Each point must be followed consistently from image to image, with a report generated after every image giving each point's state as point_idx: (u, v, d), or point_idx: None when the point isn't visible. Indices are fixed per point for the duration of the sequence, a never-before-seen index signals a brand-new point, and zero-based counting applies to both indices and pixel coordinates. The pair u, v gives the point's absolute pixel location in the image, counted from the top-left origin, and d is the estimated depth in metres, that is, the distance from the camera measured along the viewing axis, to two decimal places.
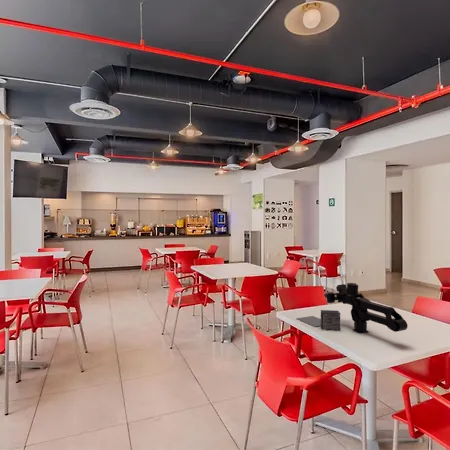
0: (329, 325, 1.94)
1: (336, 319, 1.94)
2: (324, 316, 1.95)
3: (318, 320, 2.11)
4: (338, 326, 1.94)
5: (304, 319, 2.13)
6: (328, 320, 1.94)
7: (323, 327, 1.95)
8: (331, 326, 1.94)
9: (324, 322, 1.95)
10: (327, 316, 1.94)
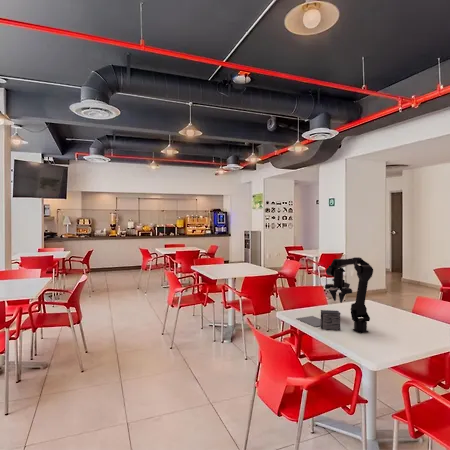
0: (329, 325, 1.94)
1: (336, 319, 1.94)
2: (324, 316, 1.95)
3: (318, 320, 2.11)
4: (338, 326, 1.94)
5: (304, 319, 2.13)
6: (328, 320, 1.94)
7: (323, 327, 1.95)
8: (331, 326, 1.94)
9: (324, 322, 1.95)
10: (327, 316, 1.94)
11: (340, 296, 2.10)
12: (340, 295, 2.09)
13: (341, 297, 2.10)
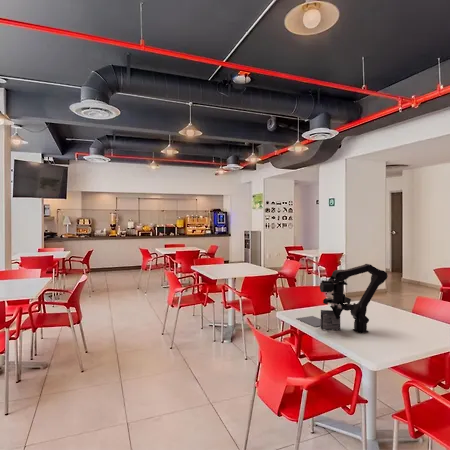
0: (329, 325, 1.94)
1: (336, 319, 1.94)
2: (324, 316, 1.95)
3: (318, 320, 2.11)
4: (338, 326, 1.94)
5: (304, 319, 2.13)
6: (328, 320, 1.94)
7: (323, 327, 1.95)
8: (331, 326, 1.94)
9: (324, 322, 1.95)
10: (327, 316, 1.95)
11: (337, 312, 1.89)
12: (337, 311, 1.89)
13: (338, 313, 1.90)
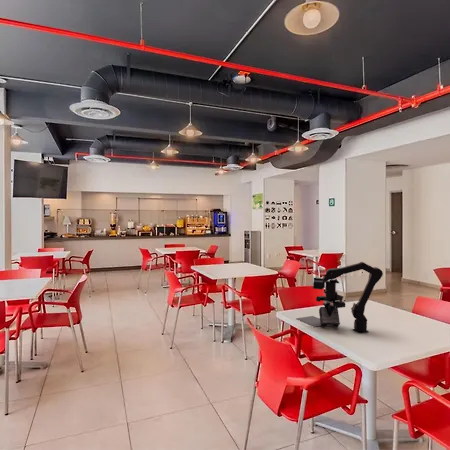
0: (328, 319, 1.97)
1: (335, 313, 1.98)
2: (322, 310, 2.00)
3: (318, 320, 2.11)
4: (337, 319, 1.96)
5: (304, 319, 2.13)
6: (327, 314, 1.98)
7: (323, 321, 1.96)
8: (330, 320, 1.96)
9: (323, 316, 1.98)
10: (325, 310, 2.00)
11: (329, 309, 1.95)
12: (329, 308, 1.95)
13: (330, 310, 1.96)
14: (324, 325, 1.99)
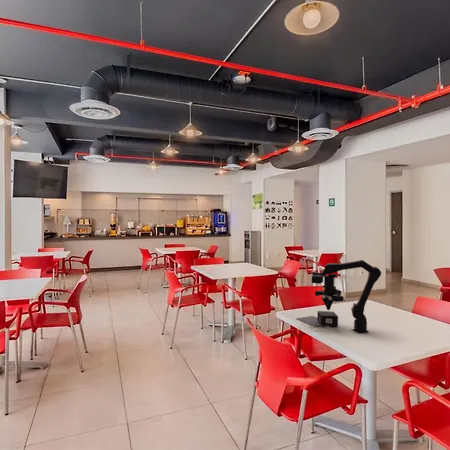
0: (326, 314, 2.03)
1: (332, 313, 2.06)
2: (320, 312, 2.08)
3: None
4: (335, 315, 2.02)
5: (304, 319, 2.13)
6: (324, 313, 2.06)
7: (321, 315, 2.02)
8: (328, 315, 2.02)
9: (321, 313, 2.05)
10: (322, 312, 2.08)
11: (327, 303, 1.96)
12: (327, 302, 1.96)
13: (329, 304, 1.97)
14: (323, 321, 2.00)
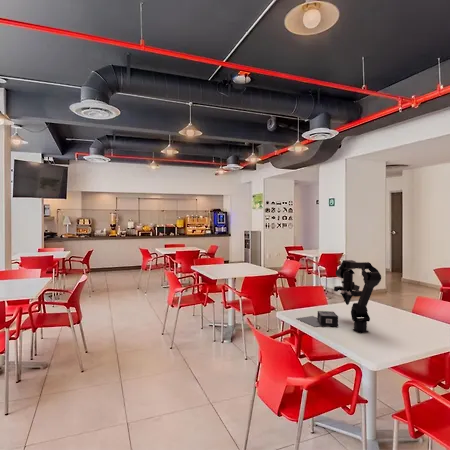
0: (326, 314, 2.03)
1: (332, 313, 2.06)
2: (320, 312, 2.08)
3: None
4: (335, 315, 2.02)
5: (304, 319, 2.13)
6: (324, 313, 2.06)
7: (321, 315, 2.02)
8: (328, 315, 2.02)
9: (321, 313, 2.05)
10: (322, 312, 2.08)
11: (347, 298, 2.05)
12: (347, 297, 2.04)
13: (348, 299, 2.05)
14: (323, 321, 2.00)
